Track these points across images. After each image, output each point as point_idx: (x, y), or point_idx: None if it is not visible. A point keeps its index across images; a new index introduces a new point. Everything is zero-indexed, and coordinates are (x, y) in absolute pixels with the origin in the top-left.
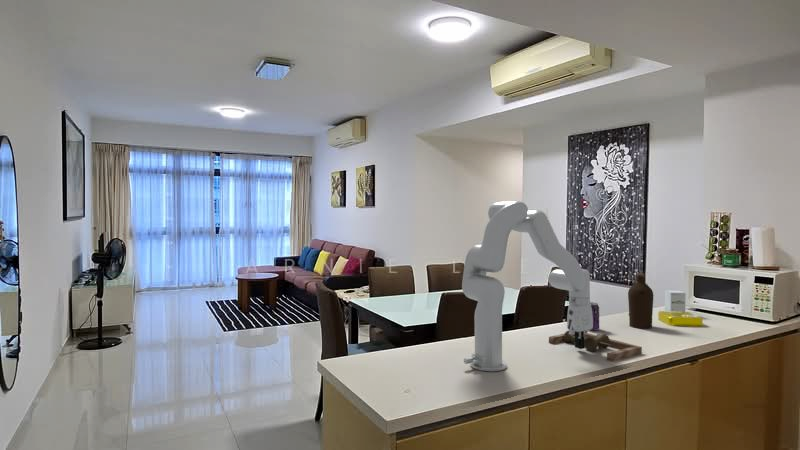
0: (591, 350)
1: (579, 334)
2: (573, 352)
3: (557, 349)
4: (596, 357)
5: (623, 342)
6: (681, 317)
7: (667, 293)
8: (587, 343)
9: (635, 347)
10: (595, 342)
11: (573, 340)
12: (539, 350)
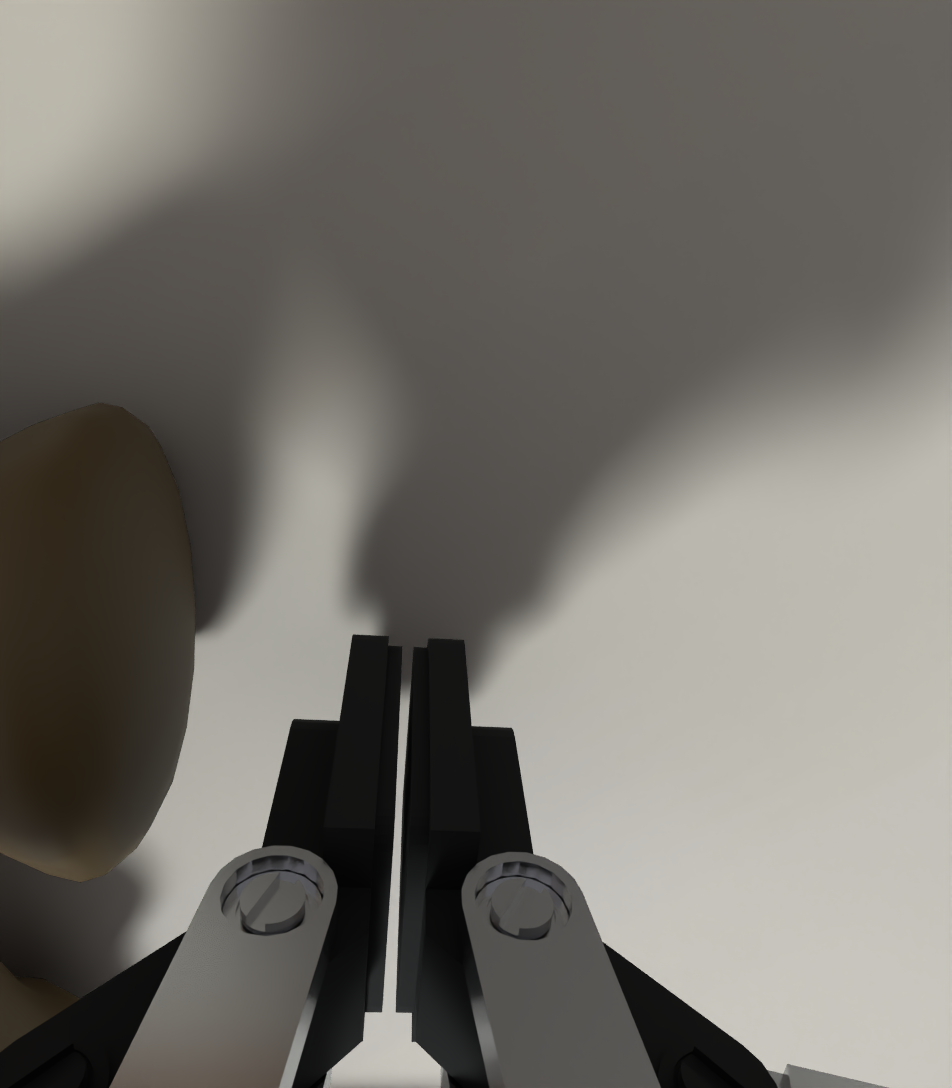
0: (180, 512)
1: (605, 1017)
2: (603, 688)
3: (655, 941)
4: (553, 99)
5: None
6: None
7: None
8: (163, 701)
9: None
10: (47, 494)
11: None
12: (939, 1036)
